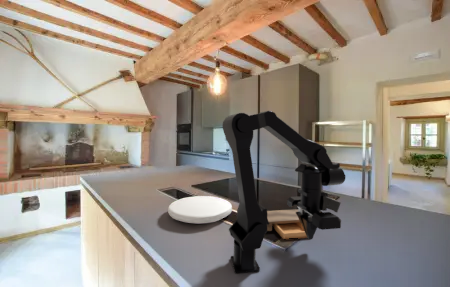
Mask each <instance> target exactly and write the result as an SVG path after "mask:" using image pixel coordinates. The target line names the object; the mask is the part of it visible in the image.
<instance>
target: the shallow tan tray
mask: <svg viewBox="0 0 450 287" xmlns="http://www.w3.org/2000/svg"><path fill="white" fill-rule="evenodd" d="M272 226H273V227H274V228H273V227H272V228H273V229H274V231H276V232H277V234H278V235H279V236H280V237H281V238H282V240H284V239H286V240H290V239H289V238H298V239H305V238H306V239H308V238H307V236H306V233H305V231H304V229H303V226H302V224H301V222H293V223H278V224H272Z"/></svg>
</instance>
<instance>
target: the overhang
mask: <svg viewBox="0 0 450 287" xmlns="http://www.w3.org/2000/svg"><path fill="white" fill-rule="evenodd" d="M296 212H298V208H297V209H296V208H295V209H280V210H279V209H277V210H267V219H268V222H269V225H268V224H267V226H268V228H267V232H272V231H273V227H272V224H278V223H293V222H300V220H299V218H298V216H297V214H296Z"/></svg>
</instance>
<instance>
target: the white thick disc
mask: <svg viewBox="0 0 450 287" xmlns="http://www.w3.org/2000/svg"><path fill="white" fill-rule="evenodd" d="M232 211H233V206H232V203H231V202H230V201H228V200H227V199H223V198H220V197H217V196H212V195H211V196H210V195H209V196H208V195H196V196H188V197H183V198H180V199H177V200H175V201H173V202H172V203H170V204H169V206H168V208H167V212H168V215H169V216H170V217H171V218H172V219H174V220H176V221H178V222H179V221H180V222H183V223H189V224H196V225H197V224H210V223H215V222H218V221H220V220H222V219H223V218H227V216H229V215H231V213H232Z"/></svg>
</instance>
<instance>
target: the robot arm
mask: <svg viewBox="0 0 450 287" xmlns="http://www.w3.org/2000/svg"><path fill="white" fill-rule="evenodd" d="M263 128H264V129H265V130H266V132H269V133H270V134H271V135H273V136H274V137H275V138H276V139H278V140H279V141H280V142H282V143H284V144H285V146H287V147H288V148H290V149H291V151H292V152H293V155H294V156H295V158H296V159H298V160H299V161H300V162H301V163H300V164H299V165H298V166H297V167H296V168H295V169H294V171H295V172H296V173H298V174H299V173H300V188H297V193H299V194H300V196H289V197H288V198H287V201H286V202H287V203H286V204H287V206H288V207H289V208H294V206H296V207H297V209H298V212H296V214H297V216H298V218H299V220H300V222H301V224H302V226H303V229H304V231H305V233H306V236H307V238H306V239H308V240H313V238H314V236H315V233H316V231H317V229H319V230H322V231H323V230H336V229H342V220H341V218H340V217H338V216H337V215H336V214H333V213H331V211H333V212H334V213H338V211H339V210H340V207H341V204H342V202H341V201H339V200H336V199H334V198H332V197H329V194H328V193H327V192H325V191H322V190H323V189H322V188H323V186H324V187H328V186H329V187H330V186H338V185H339V186H340V185H342V184H344V182H345V180H346V174H345V171H344V170H343V168H342V167H340V166H341V165H340V163H339V162H333V161H332V160H331V158H330V156H329V154H328V153H327V151H328V150H327V148H325V146H324V145H321V144H319V143H318V142H316V141H313V140H310V139H307V138H305V137H304V136H303V135H301V134H300V133H299V132H298V131H296V129H294V128H293V127H291V126H290V125H289V124H287V123H286V122H285V121H284V120H282V119H281V118H280V117H279V116H277V114H276V113H275V112H274V111H272V110H266V111H261V112H259V113H256V114H251V115H249V114H248V113H245V112H238V113H235V114H230V115H228V116H227V117H225V118H224V120H223V121H222V130H223V133H224V137H225V139H226V141H227V144H228V145H229V147H230V150H231V153H232V158H233V166H234V172H235V180H236V184H237V185H236V186H237V193H238V199H239V202H238V203H239V204H238V206H237V210H236V220H235V221H234V222H233V223H232V225H231V226H230V227H229V228H228V232H229V234H230V236H231V237H232V238H233V239H234V240H233V255H231V256H230V257H229V258H230V263H231V265H232V267H233V271H234V273H235V274H243V273H251V272H259V271H260V270H261V268H260V265H259V263H258V262H257V260H256V253H257V252H256V250H257V249H261V247H262V244H263V240H264V238H265V235H266V234H267V232H268V231H267V228H268V226H267V224H268V225H269V222H268V219H267V211H268V209H267V208H265V207H264V205H263V206H262V204H260V203H259V202H258V196H257V189H256V181H255V174H254V167H253V161H252V152H251V146H252V142H253V139H254V131H255V130H256V131H257V130H260V129H263ZM327 209H328V210H331V211H327ZM324 211H325V212H324Z"/></svg>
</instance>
